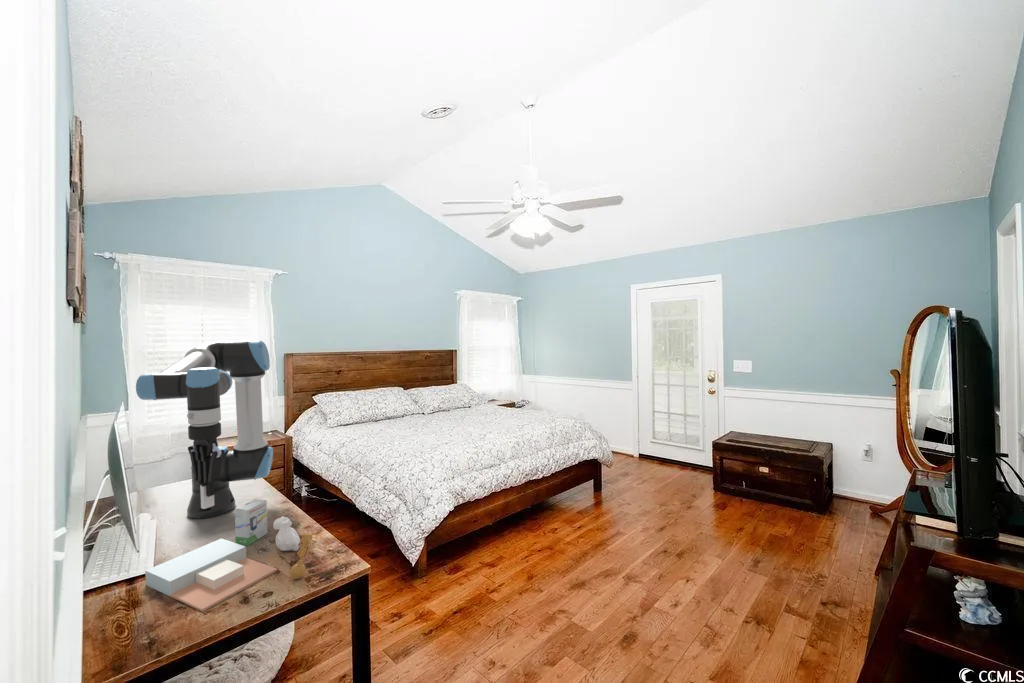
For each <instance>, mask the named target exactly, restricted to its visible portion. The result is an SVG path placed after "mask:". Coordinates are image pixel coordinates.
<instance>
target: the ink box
mask: <svg viewBox="0 0 1024 683" xmlns="http://www.w3.org/2000/svg"><path fill="white" fill-rule="evenodd" d="M267 504H268V501H267V500H266V499H259V498H254V499H251V500H249V501H247V502H245V503H243V504H241V505H239V506H237V507H235V509H234V511H235V512H234V513H235V514H234V523H235V524H234V525H235V527H234V528H235V530H234V531H235V534H234V535H235V538H234V539H235V542H234V543H237V544H240V545H243V546H245V547H246V546H250V545H251V544H253V543H254V542H256V541H258V540H259V539H261V538H263V536H266V535H267V534H268V505H267Z"/></svg>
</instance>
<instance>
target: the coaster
mask: <svg viewBox="0 0 1024 683" xmlns="http://www.w3.org/2000/svg"><path fill="white" fill-rule="evenodd" d="M243 574H244V566H243V565H241V564H238V563H235V562H232V561H230V560H227V559H225V560H223V561H221V562H219V563H217V564H214V565H212V566H210V567H208V568H206V569H204V570H202V571H199V572H197V573H196V582H197V583H199V584H201V585H204V586H206V587H209V588H211V589H213V590H214V589H216V588H218V587H220V586H222V585H224V584H226V583H228V582H230V581H232V580H234V579H236V578H238V577H240V576H241V575H243Z"/></svg>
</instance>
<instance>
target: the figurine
mask: <svg viewBox="0 0 1024 683" xmlns="http://www.w3.org/2000/svg"><path fill="white" fill-rule="evenodd" d="M301 538H302V539H300V542H299V544H298V545H299V546H300V545H301V543H302V546H301V547H300V548H299V549H298V550H297V554H296V555H297V556H298V557H299V560H298V561H296V563H294V564H293V565H292V566H291V567H290V570H289V575H290V577H291V579H293V580H299V579H301V578H303V577H304V576H305V574H306V571H307V570H306V566H305V564H303V563H304V561H305V557H306V558H308V556H309V552H310V550H311V548H312V540H313V534H312V533H303V534H302V535H301ZM304 555H305V557H304Z"/></svg>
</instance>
